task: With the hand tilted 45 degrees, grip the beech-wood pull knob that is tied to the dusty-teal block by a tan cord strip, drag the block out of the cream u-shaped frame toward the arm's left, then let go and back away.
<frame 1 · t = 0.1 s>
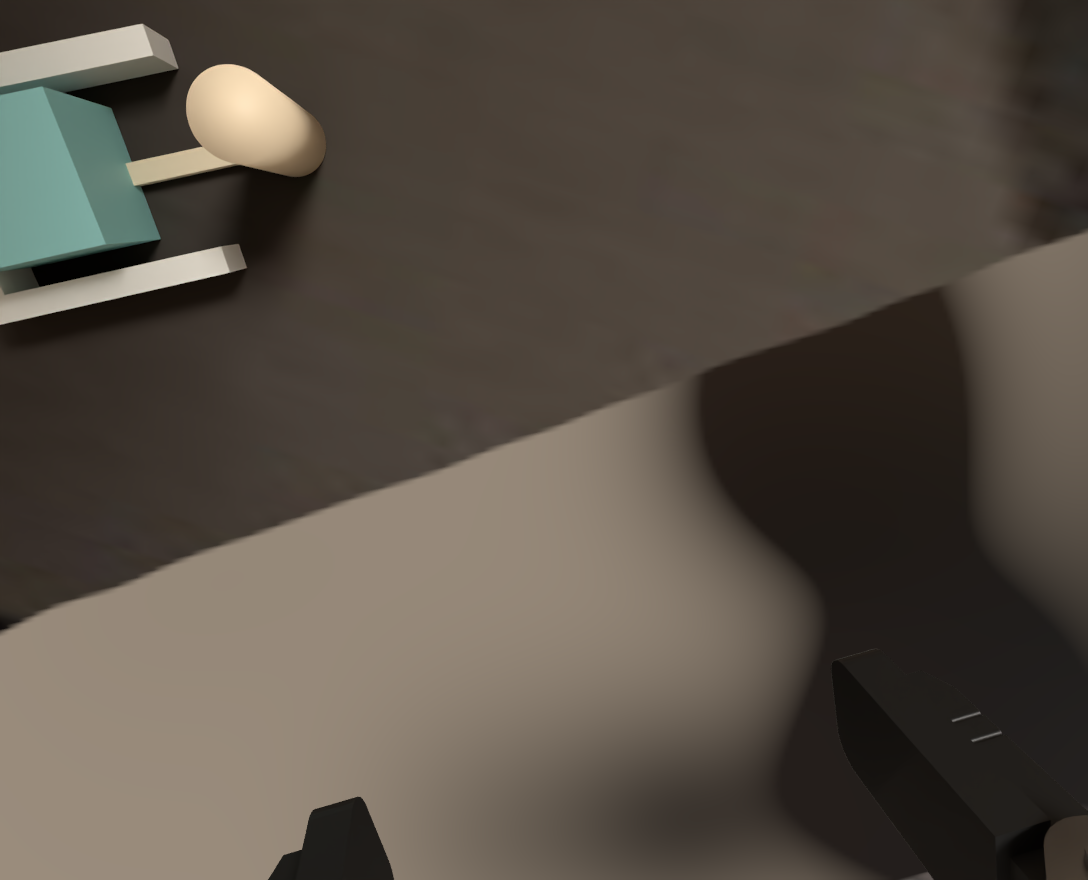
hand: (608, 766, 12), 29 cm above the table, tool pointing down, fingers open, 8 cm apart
cream u-shaped frame: (94, 184, 34), on the table
tethered block: (73, 189, 34), on the table
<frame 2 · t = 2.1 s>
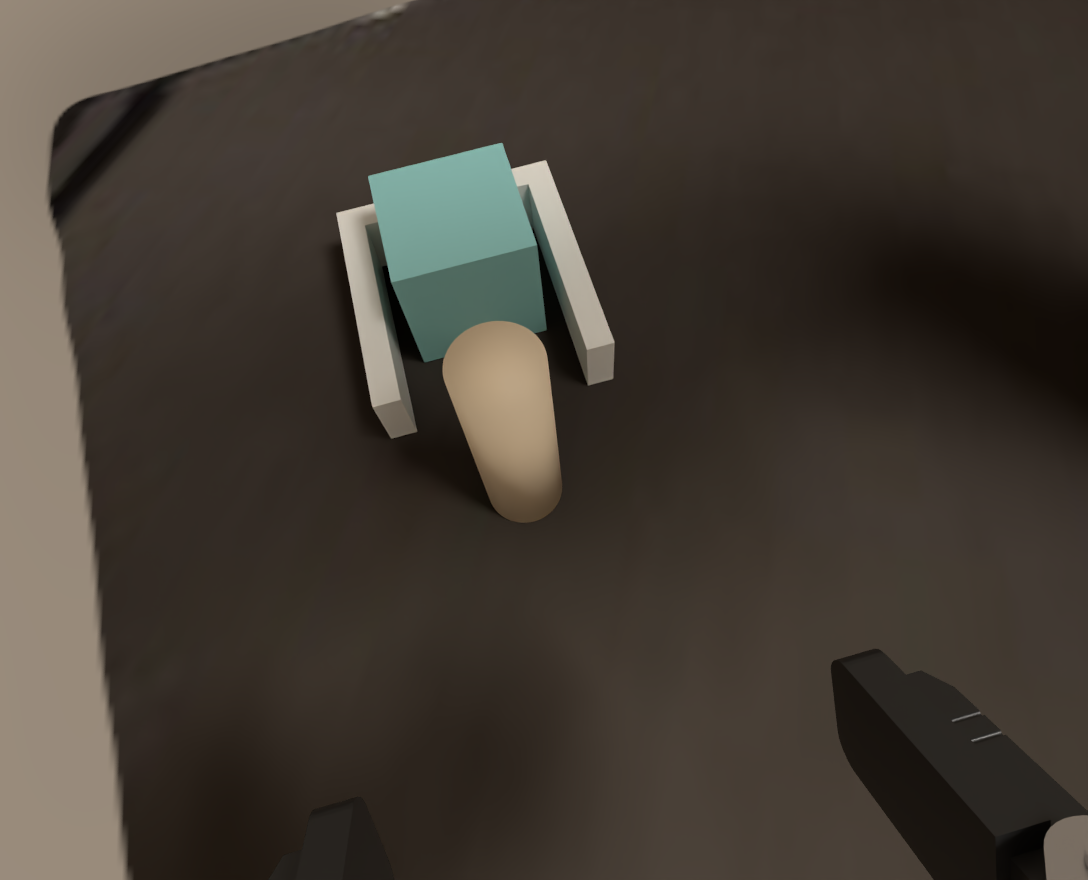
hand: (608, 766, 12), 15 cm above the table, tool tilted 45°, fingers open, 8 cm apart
cream u-shaped frame: (476, 313, 35), on the table
tethered block: (472, 297, 35), on the table
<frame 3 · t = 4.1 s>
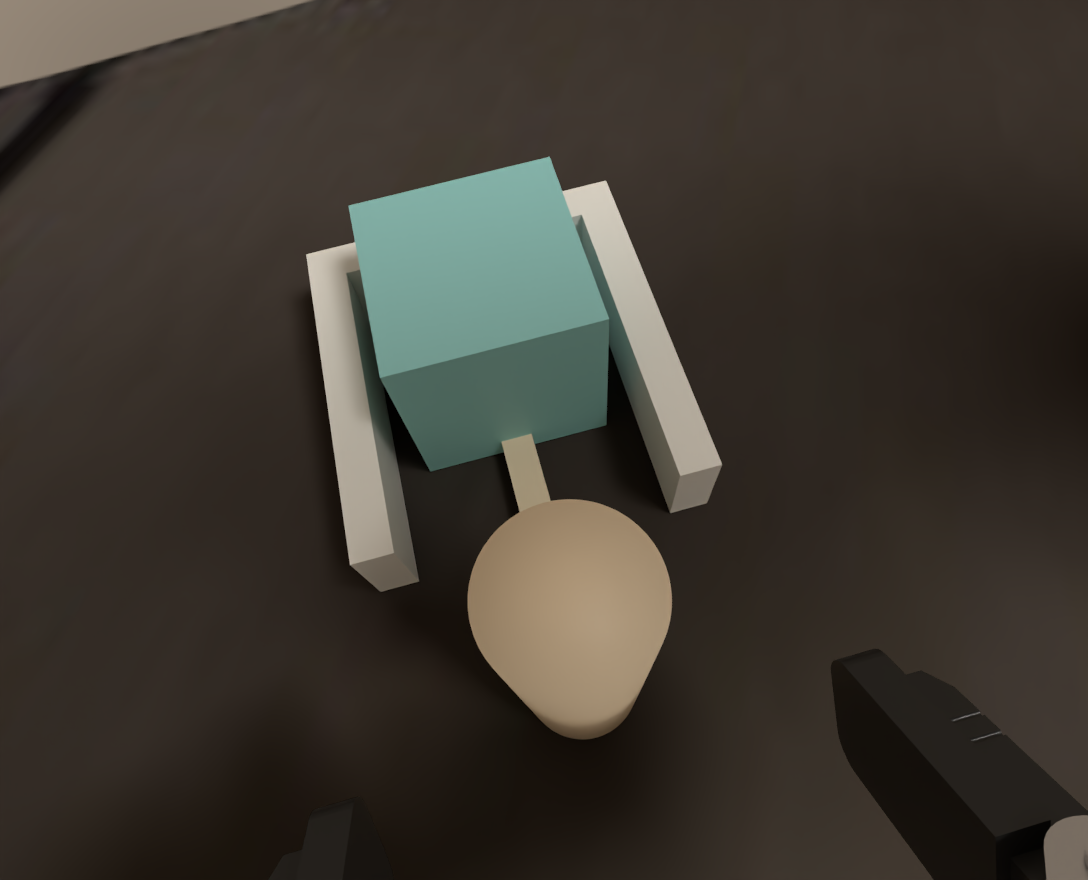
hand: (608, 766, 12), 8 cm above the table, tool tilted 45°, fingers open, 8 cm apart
cream u-shaped frame: (505, 397, 24), on the table
tethered block: (498, 373, 25), on the table
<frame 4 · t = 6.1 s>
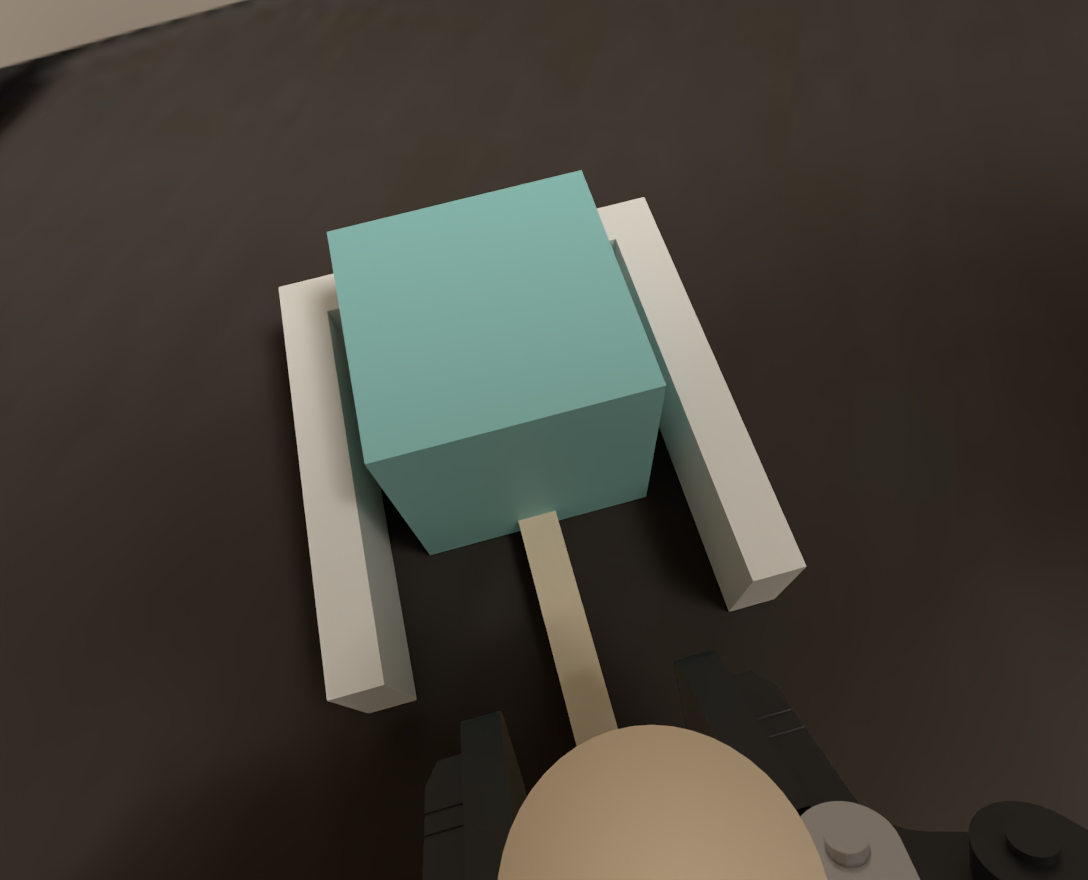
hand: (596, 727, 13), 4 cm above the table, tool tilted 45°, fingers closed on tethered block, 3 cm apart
cream u-shaped frame: (521, 460, 20), on the table
tethered block: (512, 429, 20), on the table, touching gripper
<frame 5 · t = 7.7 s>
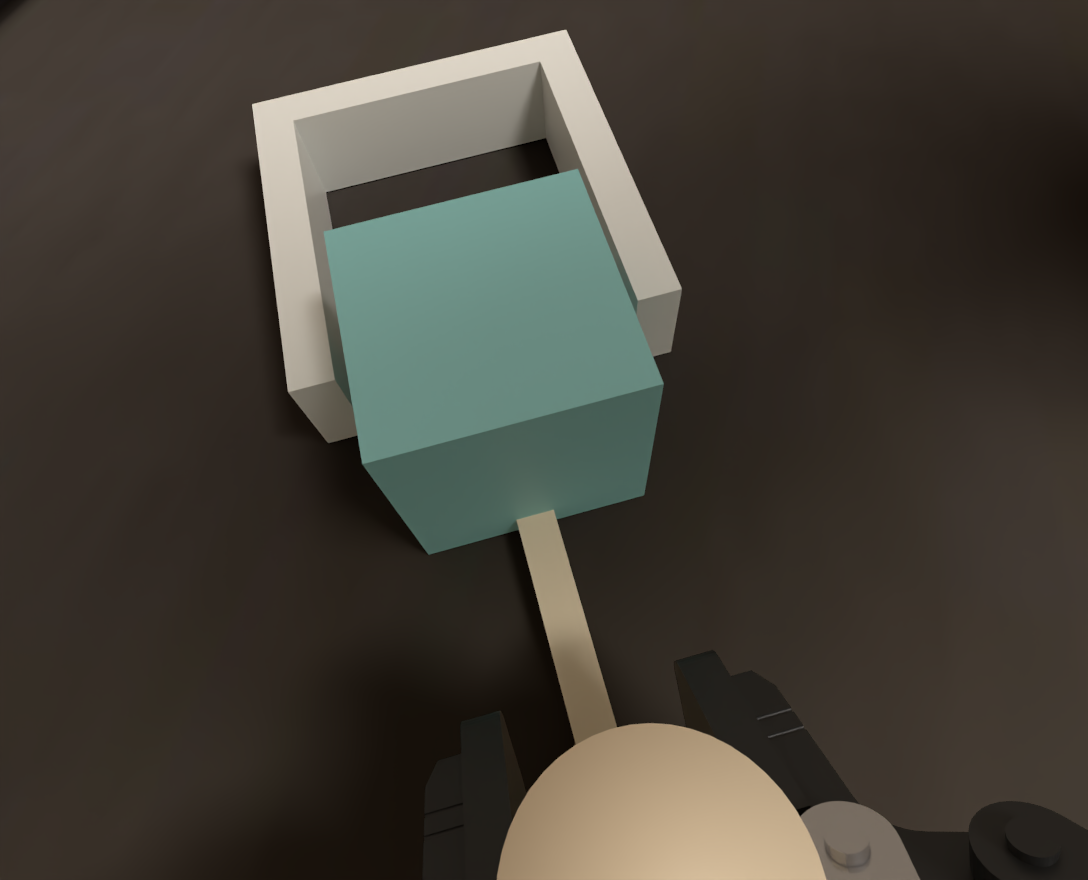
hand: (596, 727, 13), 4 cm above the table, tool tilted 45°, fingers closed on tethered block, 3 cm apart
cream u-shaped frame: (462, 256, 23), on the table
tethered block: (510, 429, 20), on the table, touching gripper
when the fingers open (5 cm above the table, at t = 9.6 s): tethered block stays where it is, on the table.
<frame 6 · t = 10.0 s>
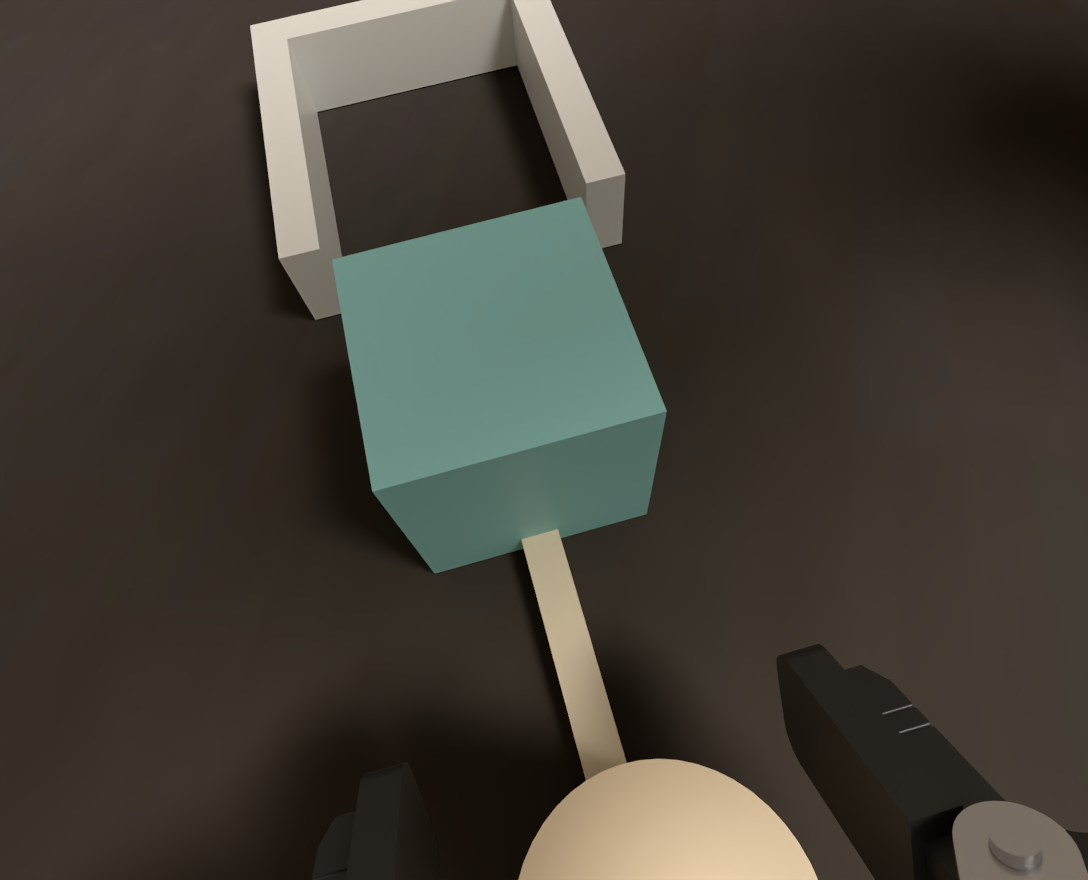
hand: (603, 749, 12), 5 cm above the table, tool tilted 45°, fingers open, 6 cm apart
cream u-shaped frame: (438, 165, 26), on the table
tethered block: (514, 448, 21), on the table
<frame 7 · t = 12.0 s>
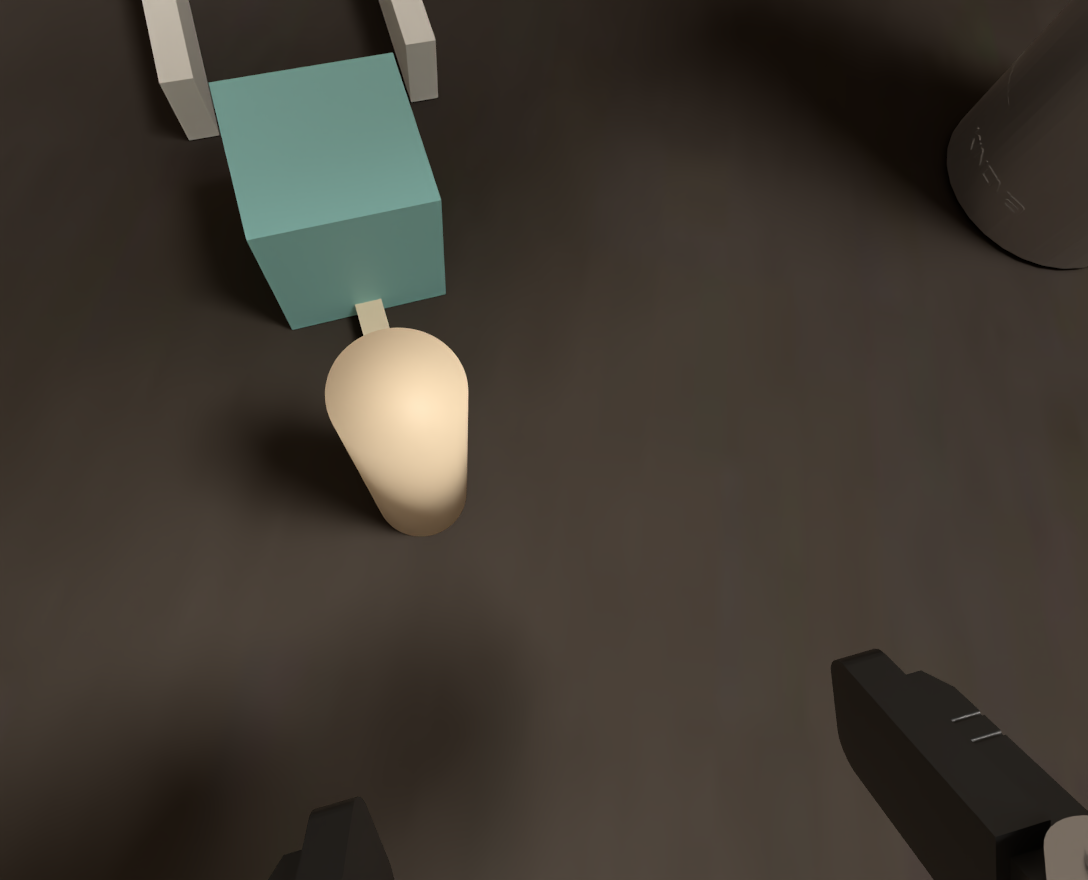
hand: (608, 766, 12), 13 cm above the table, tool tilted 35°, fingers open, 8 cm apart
cream u-shaped frame: (290, 18, 31), on the table
tethered block: (352, 246, 28), on the table
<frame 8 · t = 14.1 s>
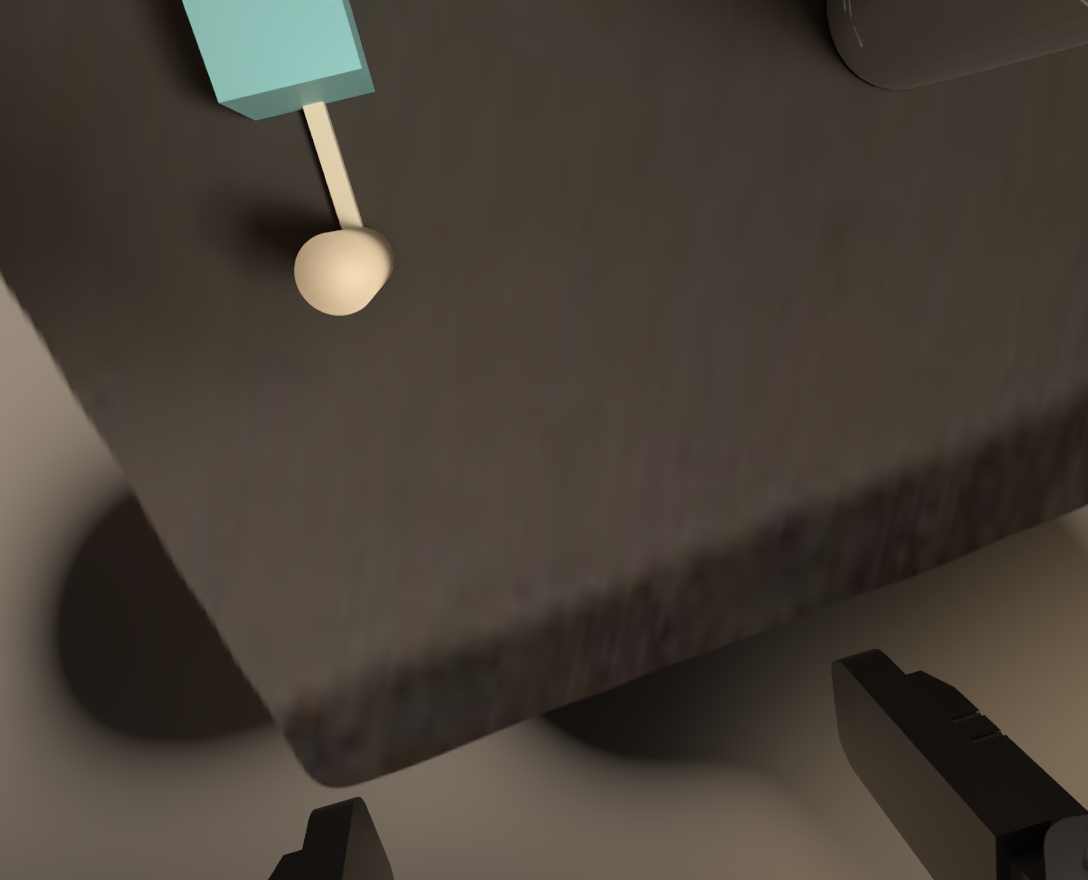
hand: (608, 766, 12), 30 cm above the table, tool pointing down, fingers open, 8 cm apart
tethered block: (294, 38, 34), on the table
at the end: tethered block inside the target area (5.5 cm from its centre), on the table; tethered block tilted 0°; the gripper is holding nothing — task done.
